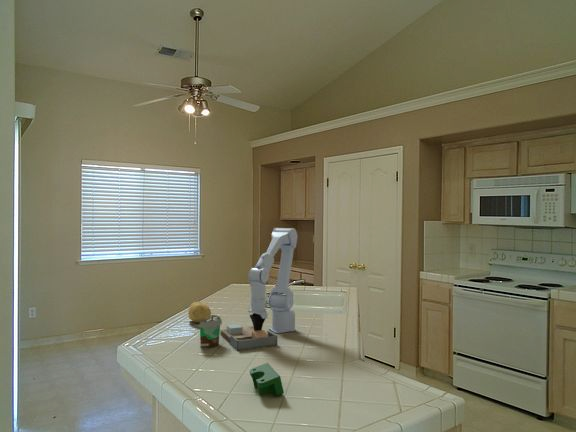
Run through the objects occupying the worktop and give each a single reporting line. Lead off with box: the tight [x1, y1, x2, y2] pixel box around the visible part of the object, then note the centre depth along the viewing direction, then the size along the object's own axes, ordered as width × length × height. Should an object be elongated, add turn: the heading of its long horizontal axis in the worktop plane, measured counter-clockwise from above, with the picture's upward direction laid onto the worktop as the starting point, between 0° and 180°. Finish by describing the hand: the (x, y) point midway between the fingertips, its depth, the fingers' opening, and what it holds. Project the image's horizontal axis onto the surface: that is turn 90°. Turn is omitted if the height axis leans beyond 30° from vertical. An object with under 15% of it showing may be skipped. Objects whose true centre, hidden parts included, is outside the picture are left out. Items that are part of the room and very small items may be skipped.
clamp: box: [249, 362, 285, 397], centre depth 119 cm, size 12×6×9 cm, turn 14°
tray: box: [229, 330, 278, 351], centre depth 161 cm, size 16×8×4 cm, turn 116°
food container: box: [198, 314, 223, 349], centre depth 160 cm, size 12×6×10 cm, turn 168°
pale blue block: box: [226, 323, 243, 335], centre depth 170 cm, size 5×5×2 cm
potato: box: [188, 301, 212, 324], centre depth 194 cm, size 10×14×10 cm
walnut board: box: [219, 325, 254, 344], centre depth 171 cm, size 15×14×2 cm
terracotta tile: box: [251, 329, 269, 339], centre depth 163 cm, size 5×5×2 cm
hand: (257, 332), depth 166 cm, fingers closed
